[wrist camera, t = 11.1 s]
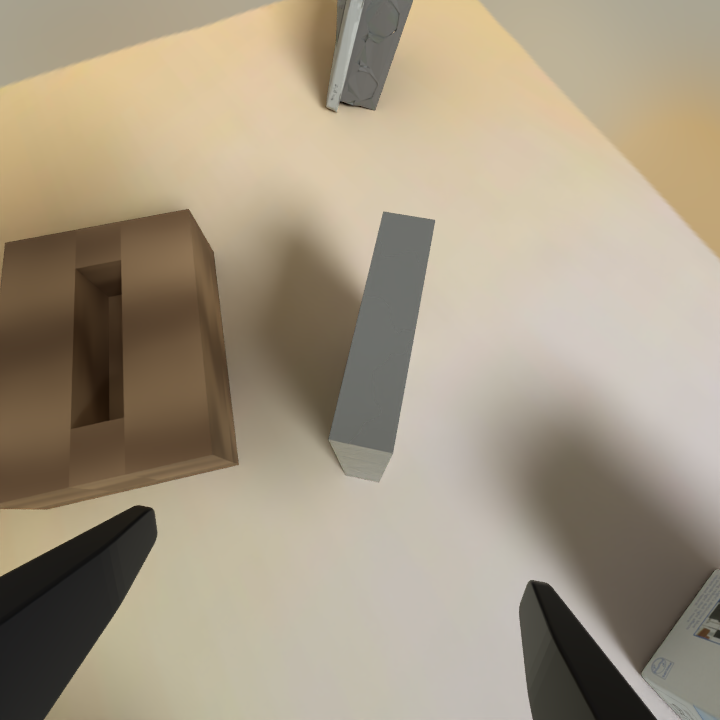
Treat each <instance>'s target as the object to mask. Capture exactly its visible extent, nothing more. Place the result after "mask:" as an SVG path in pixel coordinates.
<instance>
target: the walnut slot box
mask: <svg viewBox="0 0 720 720" xmlns="http://www.w3.org/2000/svg"><path fill="white" fill-rule="evenodd" d="M235 465H239V463H238V455H237V447H236V438H235V430H234V421H233V413H232V404H231V396H230V387H229V379H228V370H227V362H226V353H225V345H224V337H223V328H222V320H221V311H220V303H219V294H218V286H217V277H216V269H215V260H214V252H213V250H212V249H211V247H210V245H209V243H208V242H207V240H206V238H205V236H204V235H203V233H202V231H201V229H200V228H199V226H198V224H197V223H196V221H195V219H194V217H193V216H192V214H191V212H190V210H189V209H186V210H181V211H176V212H170V213H165V214H159V215H154V216H148V217H143V218H138V219H132V220H127V221H121V222H116V223H111V224H105V225H100V226H94V227H89V228H83V229H78V230H73V231H67V232H62V233H56V234H51V235H45V236H40V237H35V238H29V239H24V240H18V241H13V242H7V243H5V250H4V259H3V268H2V278H1V287H0V509H50V508H55V507H59V506H63V505H68V504H72V503H76V502H81V501H85V500H89V499H93V498H98V497H102V496H106V495H111V494H115V493H119V492H124V491H128V490H132V489H136V488H141V487H145V486H149V485H154V484H158V483H162V482H167V481H171V480H175V479H180V478H184V477H188V476H192V475H197V474H201V473H205V472H210V471H214V470H218V469H223V468H227V467H231V466H235Z"/></svg>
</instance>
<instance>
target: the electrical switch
mask: <svg viewBox="0 0 720 720" xmlns="http://www.w3.org/2000/svg"><path fill="white" fill-rule="evenodd" d="M412 2H413V0H338V2H337V31H336V44H335V51H334V57H333V63H332V69H331V75H330V81H329V87H328V94H327V104H326V108H329V109H331V110H333V111H336V112H337V110H338V106H339V102H340V101H342V102H345V103H348V104H351V105H355V106H362V107H365V108H368V109H372V110H375V109H376V106H377V104H378V101H379V98H380V95H381V92H382V89H383V86H384V83H385V80H386V78H387V75H388V72H389V69H390V66H391V63H392V60H393V57H394V54H395V51H396V49H397V46H398V43H399V40H400V37H401V34H402V31H403V28H404V25H405V23H406V20H407V17H408V14H409V11H410V8H411V5H412ZM394 31H395V32H394ZM393 32H394V33H393Z"/></svg>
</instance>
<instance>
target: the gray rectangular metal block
mask: <svg viewBox="0 0 720 720" xmlns="http://www.w3.org/2000/svg"><path fill="white" fill-rule="evenodd" d="M434 224H435V220H432V219H426V218H420V217H413V216H407V215H401V214H395V213H389V212H383V215H382V219H381V224H380V228H379V232H378V236H377V240H376V244H375V248H374V253H373V257H372V261H371V265H370V269H369V273H368V278H367V282H366V286H365V290H364V294H363V298H362V302H361V307H360V311H359V315H358V319H357V323H356V327H355V331H354V336H353V340H352V344H351V348H350V352H349V356H348V361H347V365H346V369H345V373H344V377H343V381H342V385H341V390H340V394H339V398H338V402H337V406H336V410H335V415H334V419H333V423H332V427H331V431H330V435H329V439H328V440H329V442H330V444H331V446H332V448H333V450H334V452H335V454H336V456H337V458H338V460H339V462H340V464H341V467H342V469H343V471H344V473H345V475H347V476H351V477H356V478H360V479H365V480H370V481H374V482H379V481H380V479H381V477H382V475H383V473H384V471H385V469H386V467H387V465H388V462H389V460H390V458H391V456H392V454H393V450H394V444H395V439H396V433H397V428H398V422H399V417H400V411H401V406H402V400H403V395H404V389H405V384H406V378H407V373H408V367H409V362H410V356H411V351H412V345H413V340H414V334H415V329H416V323H417V318H418V312H419V307H420V301H421V296H422V290H423V285H424V279H425V274H426V268H427V263H428V257H429V252H430V246H431V241H432V235H433V230H434Z"/></svg>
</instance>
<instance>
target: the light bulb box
mask: <svg viewBox="0 0 720 720" xmlns="http://www.w3.org/2000/svg"><path fill="white" fill-rule="evenodd" d="M642 677H643V678H644V679H645V680H646V682H647V683H648V684H649V685H650V686H651V687H652V688H653V689H654V690H655V691H656V692H657V693H658V694H659V696H660V697H661V698H662V699H663V700H664V701H665V702H666V703H667V704H668V705H669V706H670V707H671V708H672V709H673V710H674V711H675V712H676V713H677V715H678V716H679V717H680V718H681V719H682V720H720V569H716V570H715V571H714V572H713V573H712V575H711V576H710V578H709V579H708V580H707V582H706V583H705V584H704V586H703V587H702V589H701V590H700V591H699V593H698V594H697V596H696V597H695V598H694V600H693V601H692V603H691V604H690V605H689V607H688V608H687V610H686V611H685V612H684V614H683V615H682V617H681V618H680V619H679V621H678V622H677V623H676V625H675V626H674V628H673V629H672V630H671V632H670V633H669V635H668V636H667V637H666V639H665V640H664V642H663V643H662V644H661V646H660V647H659V648H658V650H657V651H656V653H655V654H654V655H653V657H652V658H651V660H650V661H649V662H648V664H647V665H646V667H645V668H644V670H643V671H642Z"/></svg>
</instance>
